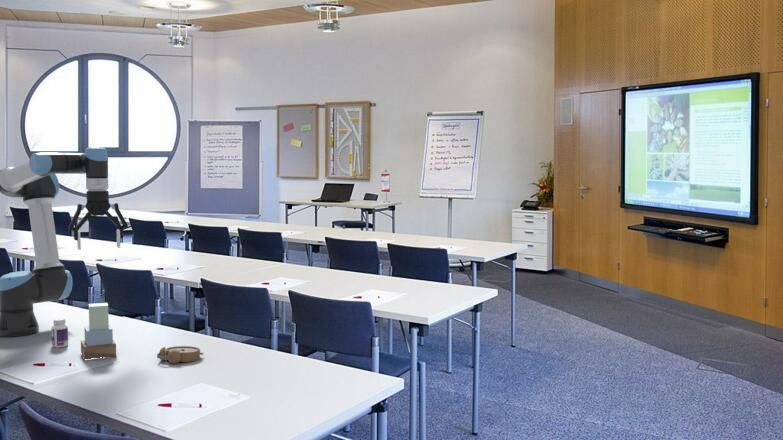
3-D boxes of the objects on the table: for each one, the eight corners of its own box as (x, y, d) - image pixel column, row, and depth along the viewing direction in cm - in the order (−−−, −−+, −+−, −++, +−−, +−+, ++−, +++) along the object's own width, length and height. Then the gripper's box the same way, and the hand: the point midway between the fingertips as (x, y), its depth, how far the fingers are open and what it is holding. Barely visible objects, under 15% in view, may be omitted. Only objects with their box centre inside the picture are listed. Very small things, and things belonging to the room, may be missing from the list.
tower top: (84, 341, 259) (84, 326, 259) (109, 338, 263) (109, 324, 263) (87, 346, 252) (87, 331, 252) (112, 343, 256) (112, 329, 256)
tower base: (81, 354, 260) (80, 340, 260) (111, 351, 265) (111, 337, 265) (84, 361, 252) (84, 347, 251) (116, 358, 257) (115, 343, 256)
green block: (89, 326, 259) (88, 303, 258) (107, 325, 261) (107, 302, 261) (89, 330, 254) (89, 306, 253) (108, 328, 256) (108, 305, 255)
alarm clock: (207, 350, 255) (169, 350, 244) (205, 364, 255) (167, 366, 244) (188, 344, 262) (150, 345, 251) (186, 359, 262) (148, 359, 251)
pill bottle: (71, 344, 274) (70, 318, 273) (63, 348, 269) (62, 321, 268) (57, 344, 275) (56, 317, 274) (49, 347, 269) (48, 320, 269)
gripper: (61, 191, 264) (63, 251, 266) (135, 189, 276) (136, 247, 278) (59, 190, 271) (60, 249, 272) (131, 189, 283) (132, 245, 285)
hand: (99, 248), depth 275 cm, fingers open, 13 cm apart
